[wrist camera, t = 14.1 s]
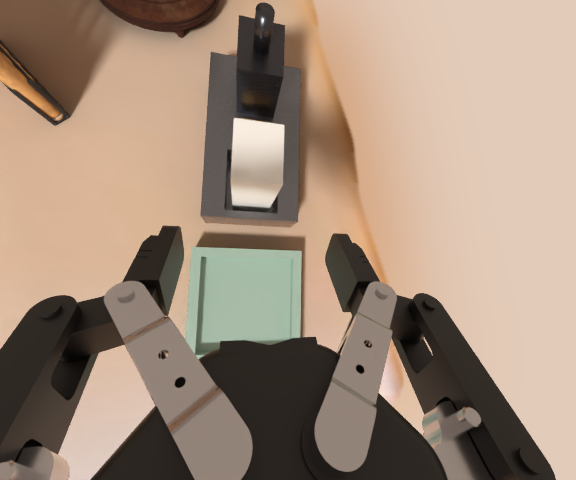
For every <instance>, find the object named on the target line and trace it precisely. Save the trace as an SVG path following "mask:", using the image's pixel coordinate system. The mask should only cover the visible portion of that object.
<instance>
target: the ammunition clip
mask: <svg viewBox="0 0 576 480" xmlns="http://www.w3.org/2000/svg"><path fill="white" fill-rule="evenodd" d="M0 81H2V83H3V84H4V85H5V86H6V87H7V88H8V89H9V90H10V91H11V92H12V93H13V94H15V95H16V96H17V97H18V98H20V99H21V100H22V101H24V102H25V103H26V104H27V105H29V106H30V107H31V108H33V109H34V110H35V111H36V112H38V113H39V114H40V115H42V116H43V117H44V118H45V119H47V120H48V121H49V122H51V123H52V124H53V125H57V124H59V123H60V122H62V121H64V120H65V119H67V118H69V117H70V115H69V114H68V113H67V112H66V111H65V110H64V109H63V108H62V107H61V106H60V105H59V104H58V102H57V101H56V100H55V99H54V98H53V97H52V96H51V95H50V94H49V93H48V92H47V91H46V89H45V88H44V87H43V86H42V85H41V84H40V83H39V82H38V81H37V80H36V79H35V78H34V76H33V75H32V74H31V73H30V72H29V71H28V70H27V69H26V68H25V67H24V66H23V65H22V63H21V62H20V61H19V60H18V59H17V58H16V57H15V56H14V55H13V54H12V53H11V52H10V50H9V49H8V48H7V47H6V46H5V45H4V44H3V43H2V42H1V41H0Z"/></svg>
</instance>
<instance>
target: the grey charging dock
mask: <svg viewBox="0 0 576 480" xmlns="http://www.w3.org/2000/svg"><path fill="white" fill-rule="evenodd" d="M274 15H275V12H274V9H273V7H272V6H271V5H269V4H268V3H259V4H258V5H257V7H256V14H255V19H254V18H249V17H245V16H240V15H239V28H238V48H237V57H235V56H230V55H224V54H219V53H214V52H211V59H210V75H209V91H208V106H207V122H206V138H205V154H204V170H203V186H202V202H201V217H202V218H203V220H204V221H205V223H220V224H238V225H256V226H274V227H291V226H293V225H294V224H295V223H297V222H298V188H299V132H300V76H301V69H298V68H293V67H288V66H284V37H285V25H280V24H276V23H273V21H274ZM234 118H239V119H246V120H254V121H261V122H268V123H275V124H282V125H284V162H283V186H282V187H281V189H280V191H279V193H278V194H277V196H276V198H275V200H274V201H273V203H272V205H271V207H270V209H269V210H268V212H256V211H242V210H233V207H232V193H231V162H232V143H233V123H234Z"/></svg>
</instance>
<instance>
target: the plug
mask: <svg viewBox="0 0 576 480" xmlns="http://www.w3.org/2000/svg"><path fill="white" fill-rule="evenodd" d="M283 162H284V125H282V124H275V123H268V122H261V121H254V120H246V119H239V118H234V123H233V143H232V162H231V193H232V207H233V210H242V211H256V212H268V210H269V209H270V207H271V205H272V203H273V201H274V200H275V198H276V196H277V194H278V193H279V191H280V189H281V187H282V186H283Z"/></svg>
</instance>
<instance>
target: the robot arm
mask: <svg viewBox="0 0 576 480" xmlns="http://www.w3.org/2000/svg"><path fill="white" fill-rule="evenodd" d="M183 260H184V247H183V240H182V233H181V228H180V226H163V227H162V229H161V231H160V233H159V235H158V236H153V235H151V236H150V237H149V238H147V239H146V240H145V241H144V242H143V243H142V245H141V247H140V249H139V252H138V253H137V255H136V258H135V259H134V260H133V262H132V264H131V266H130V268H129V270H128V272H127V274H126V276H125V278H124V280H123V282H122V283H119V284H117V285H115V286H113V287H112V288H111V289H109V290H108V291H107V293H106V294H105V296H102V297H99V298H95V299H91V300H86V301H82V302H78V303H77V302H76V300H75V299H74V298H73V297H70V296H66V295H60V296H54V297H50V298H47V299H45V300H43V301H41V302H39V303H37V304H36V305H34V306H33V307H32V308H31V309H30V310H29V311H28V312H27V313H26V315H25V316H24V317H23V319H22V320H21V322H20V323H19V324H18V326H17V327H16V329H15V330H14V331H13V333H12V334H11V335H10V337H9V338H8V340H7V341H6V342H5V344H4V345H3V347H2V348H1V349H0V480H68V478H69V465H68V463H67V461H66V460H65V459H64V458H62V457H61V456H59V455H58V453H59V450H60V448H61V445H62V443H63V440H64V438H65V435H66V433H67V430H68V428H69V425H70V423H71V420H72V418H73V415H74V413H75V410H76V408H77V405H78V403H79V400H80V398H81V395H82V393H83V390H84V388H85V385H86V383H87V381H88V378H89V376H90V373H91V371H92V368H93V366H94V363H95V361H96V358H97V356H98V353H99V352H102V351H105V350H109V349H112V348H115V347H118V346H121V345H124V344H125V346H126V348H127V350H128V352H129V354H130V356H131V358H132V360H133V362H134V364H135V366H136V368H137V370H138V372H139V374H140V376H141V378H142V380H143V382H144V384H145V386H146V388H147V390H148V392H149V394H150V396H151V398H152V400H153V402H154V404H155V407H154V408H153V409H152V410H151V411H150V413H149V414H148V415H147V416H146V417H145V418H144V419H143V421H142V422H141V423H140V424H139V425H138V426H137V427H136V428H135V430H134V431H133V432H132V433H131V434H130V435H129V436H128V438H127V439H126V440H125V441H124V442H123V443H122V444H121V446H120V447H119V448H118V449H117V450H116V451H115V452H114V453H113V455H112V456H111V457H110V458H109V459H108V460H107V461H106V463H105V464H104V465H103V466H102V467H101V468H100V469H99V471H98V472H97V473H96V474H95V475H94V476H93V477H92V478H91V480H556V479H555V475H554V472H553V470H552V468H551V466H550V464H549V463H548V461H547V460H546V458H545V457H544V455H543V454H542V452H541V451H540V449H539V448H538V446H537V445H536V443H535V442H534V440H533V439H532V438H531V436H530V434H529V433H528V432H527V430H526V428H525V427H524V426H523V424H522V423H521V421H520V420H519V418H518V417H517V415H516V414H515V412H514V411H513V409H512V408H511V406H510V405H509V403H508V402H507V401H506V399H505V398H504V396H503V394H502V393H501V391H500V390H499V389H498V387H497V386H496V384H495V383H494V381H493V380H492V378H491V377H490V375H489V374H488V373H487V371H486V369H485V368H484V366H483V365H482V363H481V362H480V360H479V359H478V357H477V356H476V355H475V353H474V352H473V350H472V349H471V347H470V346H469V344H468V343H467V341H466V340H465V338H464V337H463V336H462V334H461V332H460V331H459V329H458V328H457V327H456V325H455V323H454V322H453V321H452V319H451V318H450V316H449V315H448V313H447V312H446V310H445V309H444V307H443V306H442V305H441V303H440V302H439V301H438V300H437V299H435V298H434V297H432V296H430V295H428V294H424V293H419V294H416V295H415V296H414V298H413V299H409V298H406V297H402V296H398V295H396V293H395V292H394V290H393V289H392V288H391V287H390V286H388V285H387V284H385V283H382V282H380V281H379V279H378V277H377V275H376V273H375V272H374V270H373V268H372V266H371V264H370V263H369V261H368V259H367V257H366V255H365V254H364V252H363V250H362V249H361V248H360V247H359V246H358V245H357V244H356V243H352V242H351V240H350V238H349V236H348V235H347V234H333V235H332V237H331V240H330V243H329V246H328V249H327V252H326V257H325V262H326V266H327V269H328V272H329V274H330V277H331V280H332V283H333V286H334V288H335V291H336V294H337V297H338V300H339V302H340V305H341V308H342V311H343V312H351V314H352V317H351V319H350V321H349V324H348V326H347V329H346V331H345V333H344V336H343V338H342V340H341V343H340V345H339V347H338V349H337V352H334V351H333V350H331V349H329V348H327V347H325V346H322V345H318V344H317V340H316V337H302V338H292V339H288V340H285V341H282V342H279V343H276V344H272V345H267V344H262V343H257V342H252V341H247V340H234V341H220V349H217V350H214V351H211V352H209V353H207V354H205V355H204V356H202V357H201V358H199V359H198V358H197V357H196V355H195V354H194V352H193V351H192V349H191V348H190V346H189V345H188V343H187V342H186V340H185V339H184V337H183V336H182V335H181V333H180V332H179V330H178V329H177V327H176V326H175V324H174V323H173V321H172V320H171V319H170V318H169V317H168V313H169V310H170V306H171V303H172V299H173V296H174V292H175V289H176V285H177V282H178V278H179V275H180V271H181V267H182V264H183ZM165 316H167V317H165ZM424 337H425V339H426V341H427V342H428V344H429V346H430V348H431V350H432V354H433V356H432V354H431V352H430V351H429V349H428V347H427V345H426V343H425V341H424V339H423V338H424ZM391 338H392V340H393V342H394V345H395V347H396V349H397V352H398V354H399V356H400V359H401V361H402V363H403V366H404V368H405V370H406V373H407V375H408V377H409V379H410V382H411V384H412V387H413V389H414V391H415V394H416V396H417V398H418V400H419V403H420V405H421V407H422V410H423V412H424V414H425V415H424V417H423V422H422V425H423V430H424V433H423V436H422V435H421V434H420V433H419V432H418V431H417V430H416V429H415V428H414V427H413V426H412V425H411V424H410V423H409V422H408V421H407V420H406V419H405V418H404V417H403V416H402V415H401V414H400V413H399V412H398V411H397V410H395V409H394V408H393V407H392V406H391V405H390V404H389V403H388V402H387V401H386V400H385V399H384V398H383V397H382V396H381V395H380V394H379V393H378V392H379V388H380V384H381V379H382V375H383V371H384V367H385V362H386V358H387V354H388V350H389V345H390V341H391Z"/></svg>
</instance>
